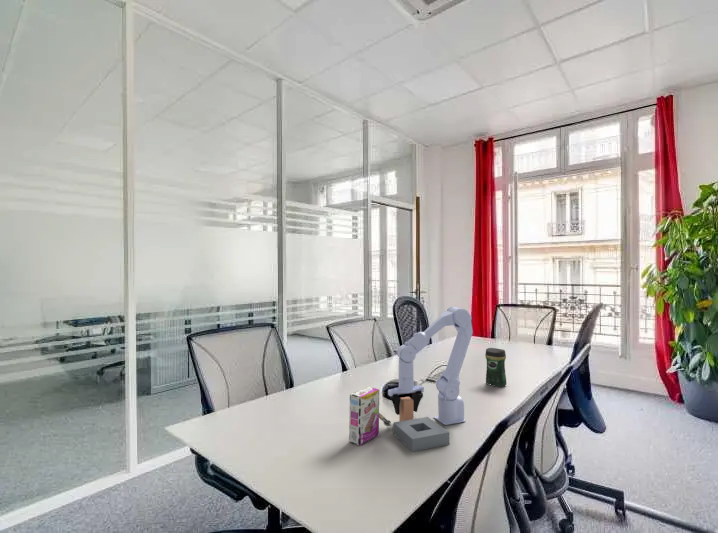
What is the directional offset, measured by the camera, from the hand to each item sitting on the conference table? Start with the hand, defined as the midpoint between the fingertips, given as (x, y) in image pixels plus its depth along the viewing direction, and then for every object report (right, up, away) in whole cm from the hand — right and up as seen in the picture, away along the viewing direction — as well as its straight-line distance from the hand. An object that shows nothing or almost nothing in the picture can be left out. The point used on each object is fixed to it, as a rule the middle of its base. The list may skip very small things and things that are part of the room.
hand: (406, 412), depth 140 cm
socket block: (+3, -4, -14) cm, 15 cm away
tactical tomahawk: (-11, -5, +7) cm, 14 cm away
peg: (0, -4, 0) cm, 4 cm away
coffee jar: (+52, -5, +46) cm, 70 cm away
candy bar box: (-16, -4, -14) cm, 21 cm away
